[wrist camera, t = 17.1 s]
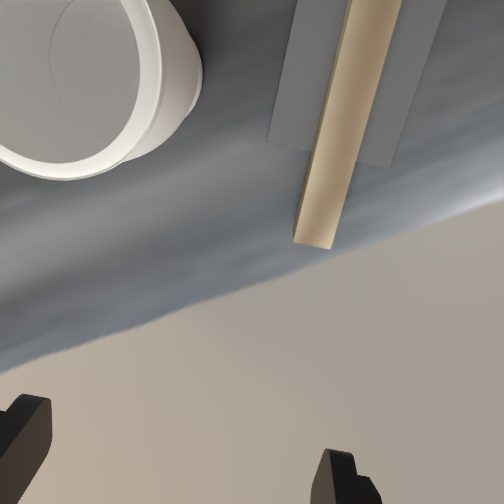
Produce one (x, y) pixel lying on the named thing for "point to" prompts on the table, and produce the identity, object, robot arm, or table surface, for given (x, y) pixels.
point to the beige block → (344, 117)
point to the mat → (319, 68)
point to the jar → (91, 83)
